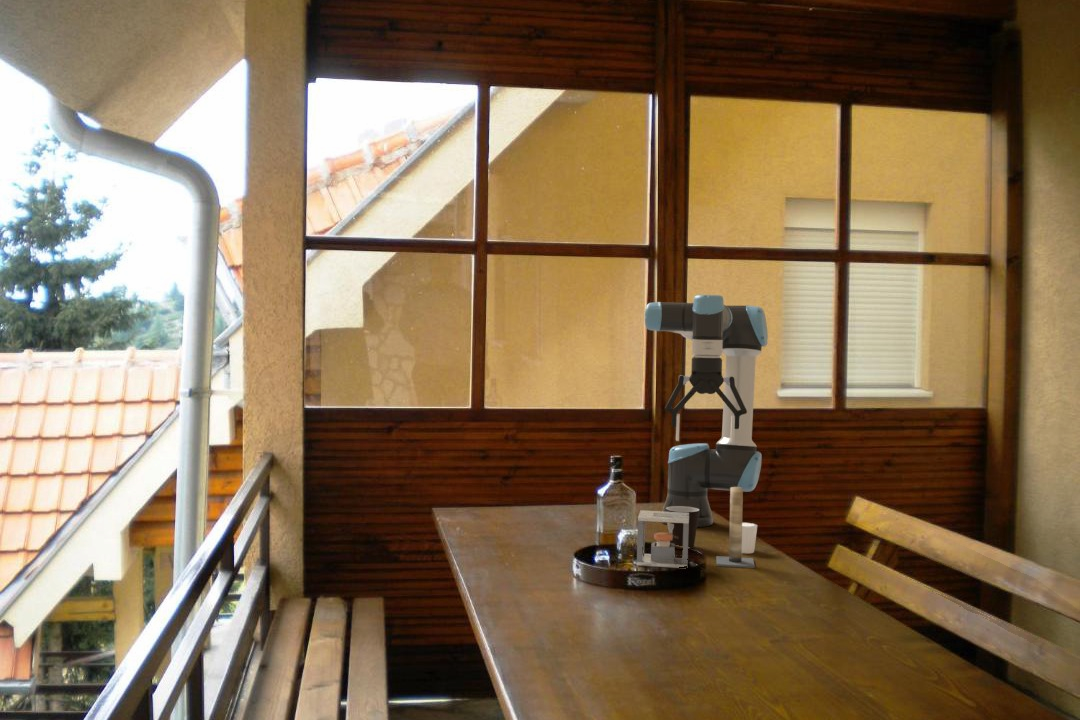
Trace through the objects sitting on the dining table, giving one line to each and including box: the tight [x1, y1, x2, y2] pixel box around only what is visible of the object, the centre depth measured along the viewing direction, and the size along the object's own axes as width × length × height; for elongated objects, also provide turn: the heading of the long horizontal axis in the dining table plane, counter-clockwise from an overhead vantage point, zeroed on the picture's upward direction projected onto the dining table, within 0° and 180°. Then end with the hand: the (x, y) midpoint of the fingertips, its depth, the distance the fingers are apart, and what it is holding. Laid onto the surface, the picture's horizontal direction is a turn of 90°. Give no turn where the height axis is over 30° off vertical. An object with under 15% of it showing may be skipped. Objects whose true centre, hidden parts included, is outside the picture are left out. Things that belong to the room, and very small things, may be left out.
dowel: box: [728, 487, 744, 562], centre depth 253 cm, size 3×3×18 cm
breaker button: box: [653, 532, 673, 547], centre depth 252 cm, size 4×4×6 cm
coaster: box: [715, 555, 756, 569], centre depth 253 cm, size 9×9×1 cm
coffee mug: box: [666, 506, 699, 549], centre depth 272 cm, size 12×9×10 cm
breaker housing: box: [636, 509, 689, 569], centre depth 252 cm, size 10×12×12 cm
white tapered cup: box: [742, 521, 758, 554], centre depth 268 cm, size 7×7×7 cm
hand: (704, 441), depth 260 cm, fingers open, 13 cm apart
